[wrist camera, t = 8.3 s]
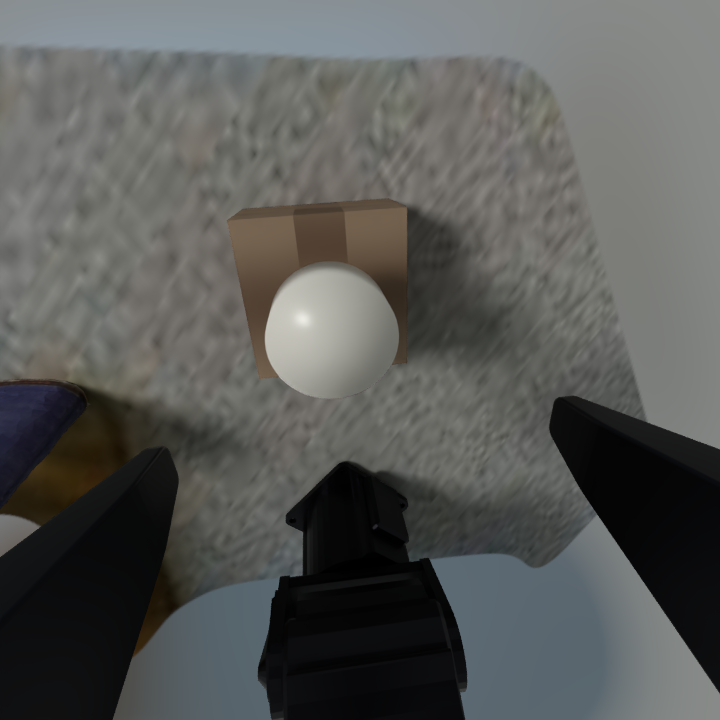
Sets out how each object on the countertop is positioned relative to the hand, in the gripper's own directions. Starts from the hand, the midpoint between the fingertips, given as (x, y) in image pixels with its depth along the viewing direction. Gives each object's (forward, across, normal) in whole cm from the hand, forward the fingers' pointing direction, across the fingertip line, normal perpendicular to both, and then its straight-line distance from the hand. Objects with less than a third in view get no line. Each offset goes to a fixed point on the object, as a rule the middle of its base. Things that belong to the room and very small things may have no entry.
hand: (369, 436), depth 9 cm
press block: (+13, 0, 0) cm, 13 cm away
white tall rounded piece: (+13, 0, 0) cm, 13 cm away
